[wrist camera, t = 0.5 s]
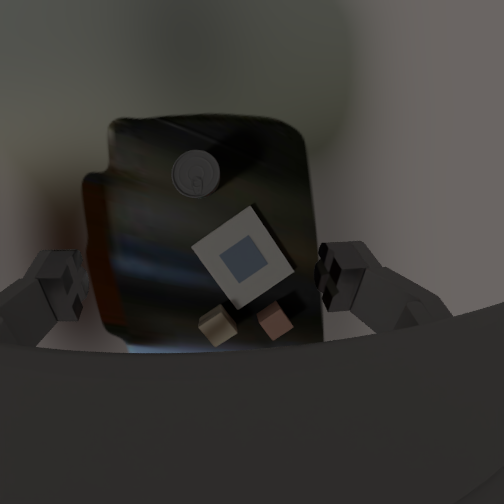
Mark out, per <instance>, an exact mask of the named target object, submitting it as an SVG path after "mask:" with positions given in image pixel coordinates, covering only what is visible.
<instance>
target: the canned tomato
mask: <svg viewBox="0 0 504 504" xmlns="http://www.w3.org/2000/svg"><path fill="white" fill-rule="evenodd" d="M172 181H173V184H174V186H175V187H176V189H177V190H178V191H179V192H180V193H181V194H183V195H185V196H187V197H191V198H205V197H208V196H210V195H211V194H213V193H214V192H215V191H216V189H217V188H218V186H219V183H220V168H219V164H218V162H217V160H216V159H215V158H214V157H213V156H212V155H211V154H209V153H208V152H206V151H202V150H191V151H187V152H185V153H183V154H182V155H181V156H180V157H179V158H178V159H177V160H176V161H175V163H174V165H173V168H172Z"/></svg>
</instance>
